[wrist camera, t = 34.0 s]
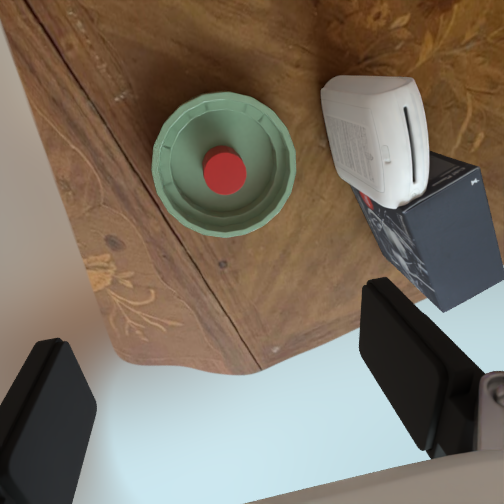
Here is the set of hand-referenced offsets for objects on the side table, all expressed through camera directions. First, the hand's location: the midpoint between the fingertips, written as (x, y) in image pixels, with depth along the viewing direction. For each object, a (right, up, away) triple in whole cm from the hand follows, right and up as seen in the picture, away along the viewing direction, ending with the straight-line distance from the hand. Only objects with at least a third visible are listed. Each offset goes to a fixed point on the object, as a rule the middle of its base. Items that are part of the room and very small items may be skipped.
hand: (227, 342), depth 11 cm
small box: (+17, +9, +29) cm, 35 cm away
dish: (-2, +12, +24) cm, 27 cm away
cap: (-2, +12, +24) cm, 26 cm away
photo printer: (+10, +16, +25) cm, 31 cm away
